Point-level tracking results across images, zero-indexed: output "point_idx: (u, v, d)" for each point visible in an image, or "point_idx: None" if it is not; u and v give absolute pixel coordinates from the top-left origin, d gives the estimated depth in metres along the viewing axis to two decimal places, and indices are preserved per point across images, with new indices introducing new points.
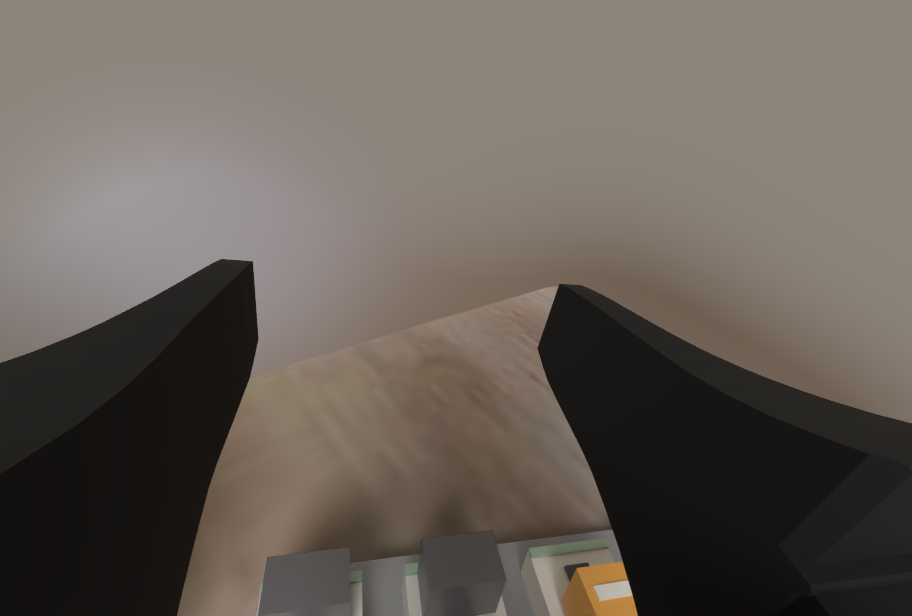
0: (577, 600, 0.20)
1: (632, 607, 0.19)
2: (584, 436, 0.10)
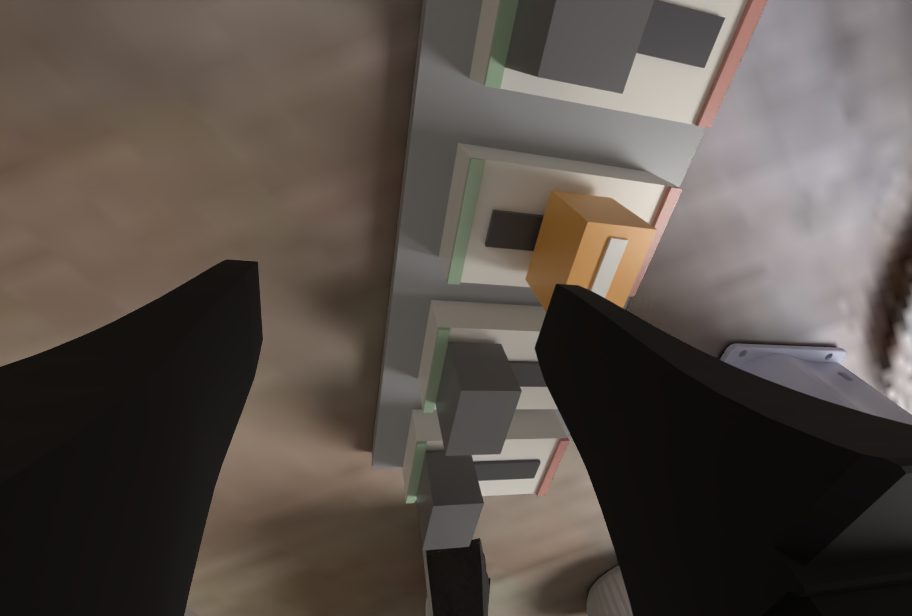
0: None
1: (623, 278, 0.14)
2: (580, 436, 0.10)
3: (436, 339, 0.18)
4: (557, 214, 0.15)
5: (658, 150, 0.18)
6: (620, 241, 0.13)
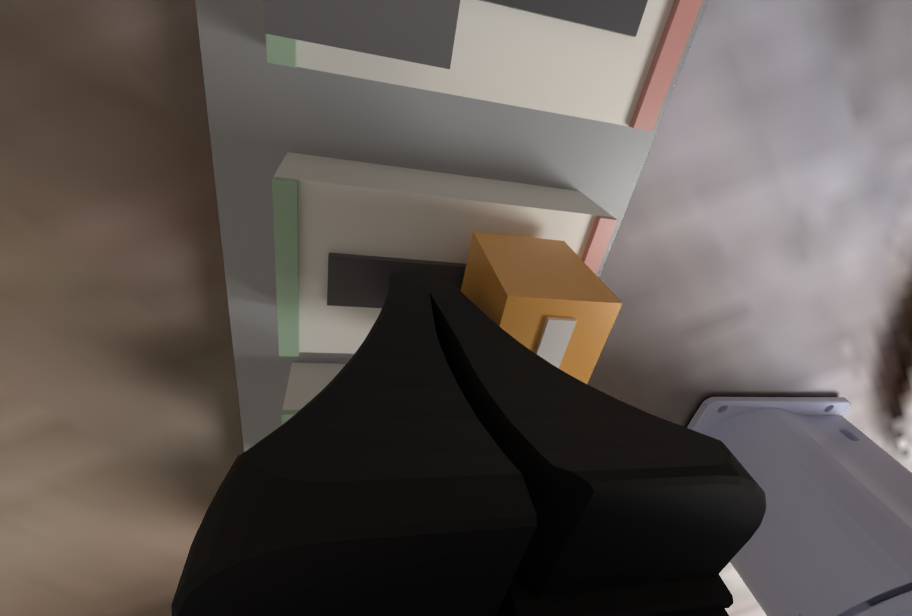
0: None
1: (573, 372, 0.09)
2: None
3: None
4: (477, 270, 0.10)
5: (590, 161, 0.13)
6: (564, 321, 0.09)
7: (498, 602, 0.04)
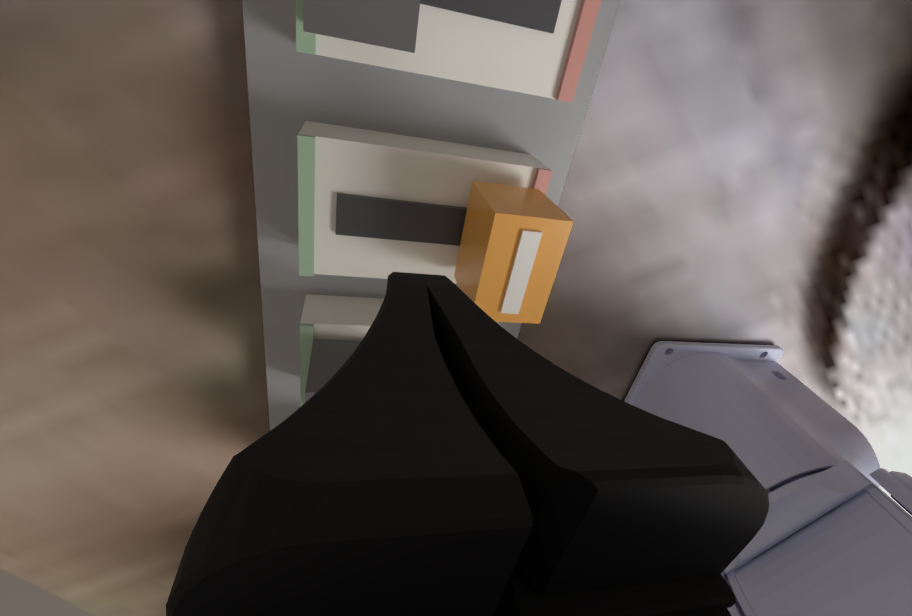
0: None
1: (542, 274, 0.13)
2: None
3: (300, 336, 0.17)
4: (475, 206, 0.14)
5: (537, 130, 0.17)
6: (534, 234, 0.13)
7: (496, 603, 0.04)
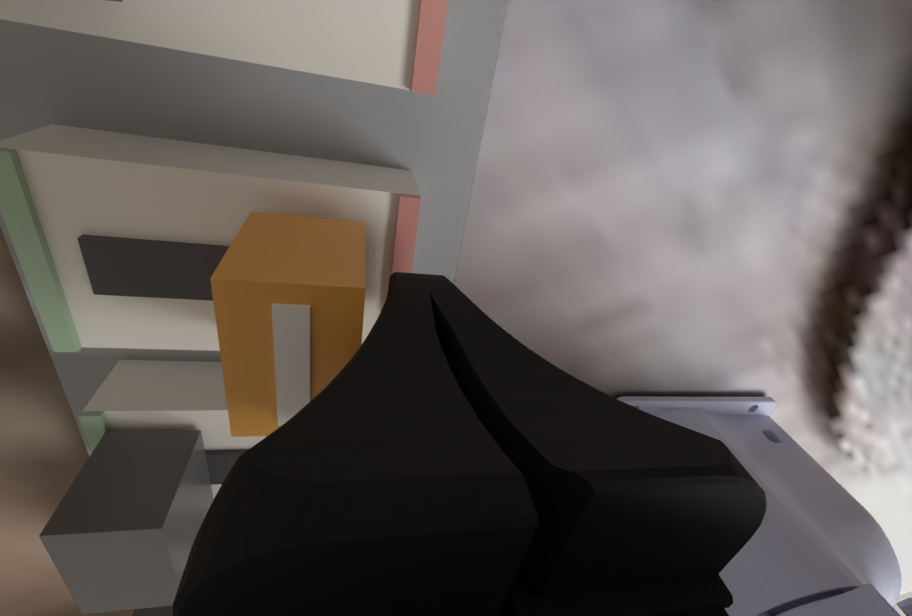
0: None
1: (334, 367, 0.08)
2: None
3: (85, 428, 0.12)
4: None
5: (417, 137, 0.12)
6: (298, 309, 0.07)
7: (500, 603, 0.04)
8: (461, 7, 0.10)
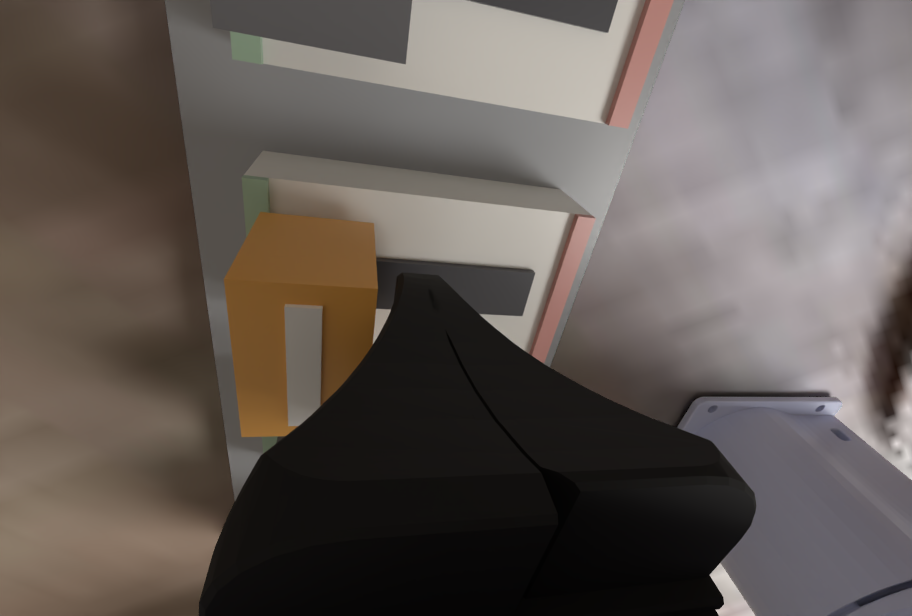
0: None
1: (345, 368, 0.08)
2: None
3: None
4: None
5: (571, 160, 0.13)
6: (311, 310, 0.07)
7: (518, 600, 0.04)
8: None
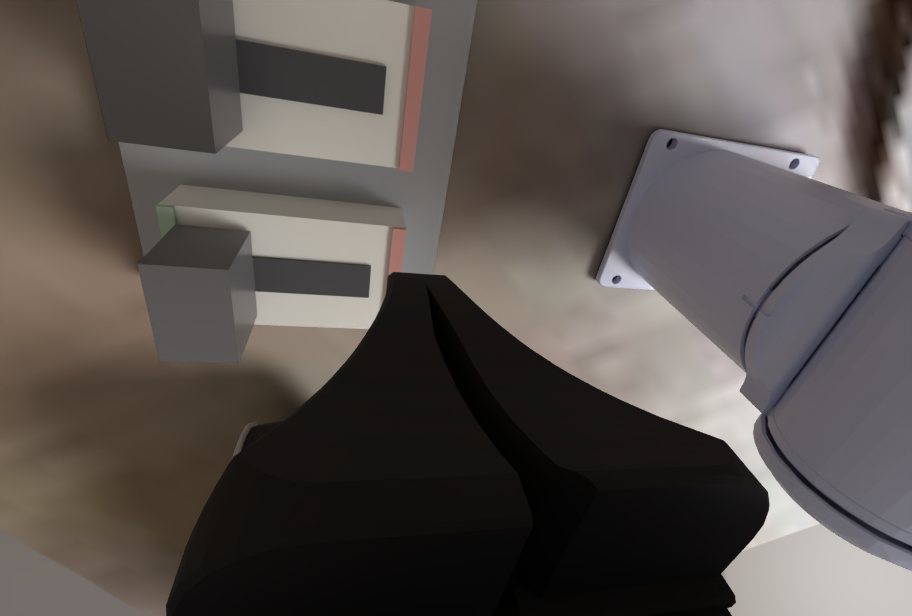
0: None
1: None
2: None
3: None
4: None
5: None
6: None
7: (496, 602, 0.04)
8: None
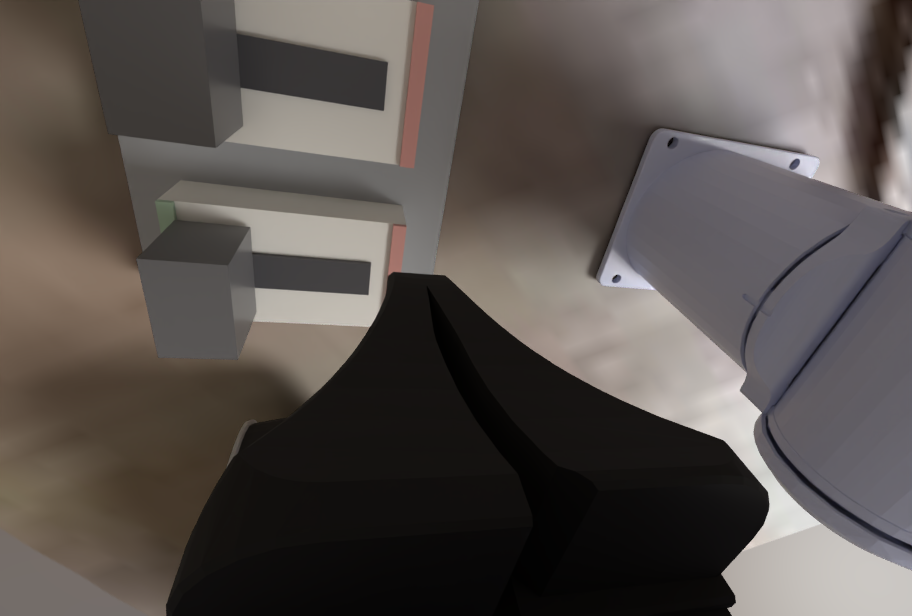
0: None
1: None
2: None
3: None
4: None
5: None
6: None
7: (496, 602, 0.04)
8: None
